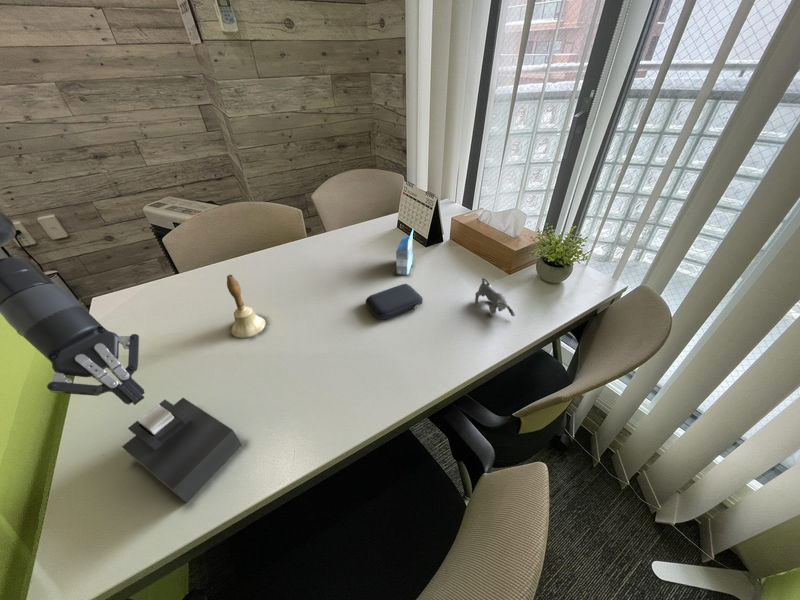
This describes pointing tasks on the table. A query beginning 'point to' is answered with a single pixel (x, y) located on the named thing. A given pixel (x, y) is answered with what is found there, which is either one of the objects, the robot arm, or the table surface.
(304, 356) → the table surface
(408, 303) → the carrying case
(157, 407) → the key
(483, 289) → the dog figurine
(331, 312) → the table surface
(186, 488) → the black square panel
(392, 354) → the table surface
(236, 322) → the hand bell
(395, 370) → the table surface
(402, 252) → the blue white carton
